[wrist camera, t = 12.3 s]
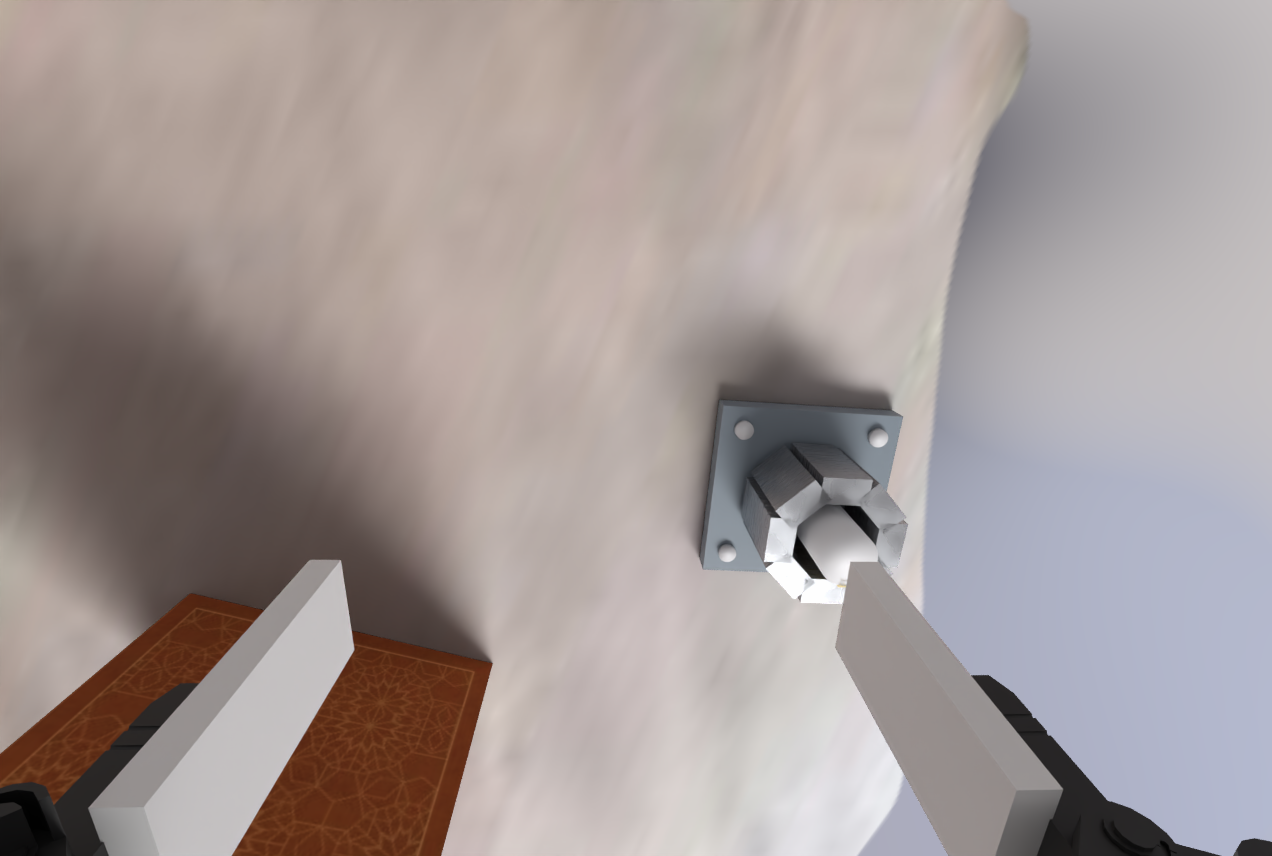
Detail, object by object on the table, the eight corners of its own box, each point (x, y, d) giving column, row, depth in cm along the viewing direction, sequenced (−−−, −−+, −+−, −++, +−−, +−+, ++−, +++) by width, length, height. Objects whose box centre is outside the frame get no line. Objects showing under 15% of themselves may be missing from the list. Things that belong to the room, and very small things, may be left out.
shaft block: (719, 399, 39) (755, 450, 30) (892, 410, 40) (982, 463, 30) (699, 558, 43) (726, 649, 33) (858, 565, 43) (930, 655, 34)
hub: (751, 439, 38) (777, 474, 32) (871, 446, 38) (917, 482, 33) (736, 549, 40) (757, 600, 34) (848, 554, 41) (888, 605, 35)
